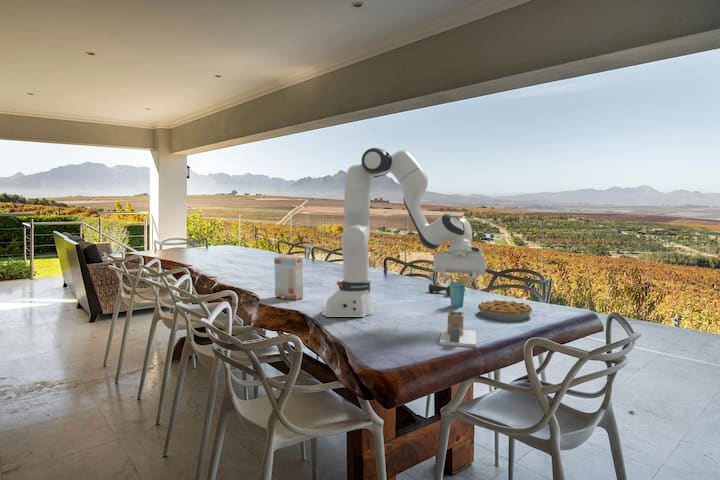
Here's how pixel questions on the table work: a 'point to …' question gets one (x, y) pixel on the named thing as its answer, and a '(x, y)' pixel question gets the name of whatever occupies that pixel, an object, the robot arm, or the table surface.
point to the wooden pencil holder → (455, 321)
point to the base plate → (464, 340)
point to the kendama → (439, 288)
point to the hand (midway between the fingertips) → (458, 280)
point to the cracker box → (288, 277)
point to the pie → (505, 310)
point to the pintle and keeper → (454, 332)
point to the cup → (458, 291)
